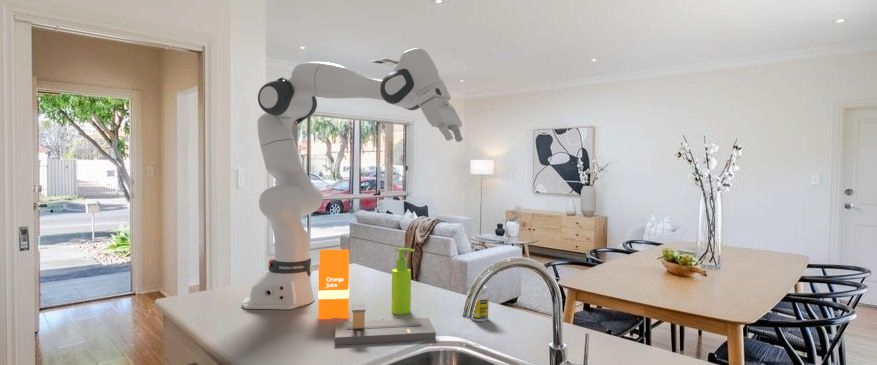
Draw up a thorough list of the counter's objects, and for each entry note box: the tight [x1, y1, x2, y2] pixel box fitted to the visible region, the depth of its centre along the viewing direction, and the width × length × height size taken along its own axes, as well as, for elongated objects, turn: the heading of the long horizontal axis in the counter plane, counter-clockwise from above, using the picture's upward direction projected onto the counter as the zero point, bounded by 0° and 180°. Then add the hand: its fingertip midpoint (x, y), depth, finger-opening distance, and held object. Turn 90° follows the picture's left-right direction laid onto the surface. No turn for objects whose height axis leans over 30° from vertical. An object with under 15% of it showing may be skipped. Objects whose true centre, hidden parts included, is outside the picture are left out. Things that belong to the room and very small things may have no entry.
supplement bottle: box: [471, 285, 490, 322], centre depth 145 cm, size 5×5×10 cm
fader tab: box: [351, 303, 366, 329], centre depth 129 cm, size 3×5×5 cm, turn 11°
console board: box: [334, 317, 437, 346], centre depth 131 cm, size 26×12×2 cm, turn 100°
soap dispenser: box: [391, 247, 415, 316], centre depth 150 cm, size 6×7×20 cm
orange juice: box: [317, 248, 350, 320], centre depth 146 cm, size 8×9×20 cm
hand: (455, 140), depth 140 cm, fingers open, 8 cm apart
